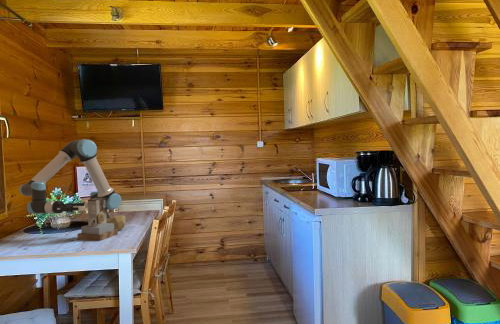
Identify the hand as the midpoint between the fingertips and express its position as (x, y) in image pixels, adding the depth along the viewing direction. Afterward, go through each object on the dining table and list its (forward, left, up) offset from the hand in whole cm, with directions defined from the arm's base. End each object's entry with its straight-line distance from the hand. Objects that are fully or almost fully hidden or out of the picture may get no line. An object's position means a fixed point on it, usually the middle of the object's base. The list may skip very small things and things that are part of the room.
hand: (89, 206), depth 215 cm
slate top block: (-2, +4, -15) cm, 16 cm away
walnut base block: (-1, +4, -19) cm, 20 cm away
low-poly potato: (-20, +3, -19) cm, 27 cm away
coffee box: (-1, +4, -11) cm, 12 cm away
